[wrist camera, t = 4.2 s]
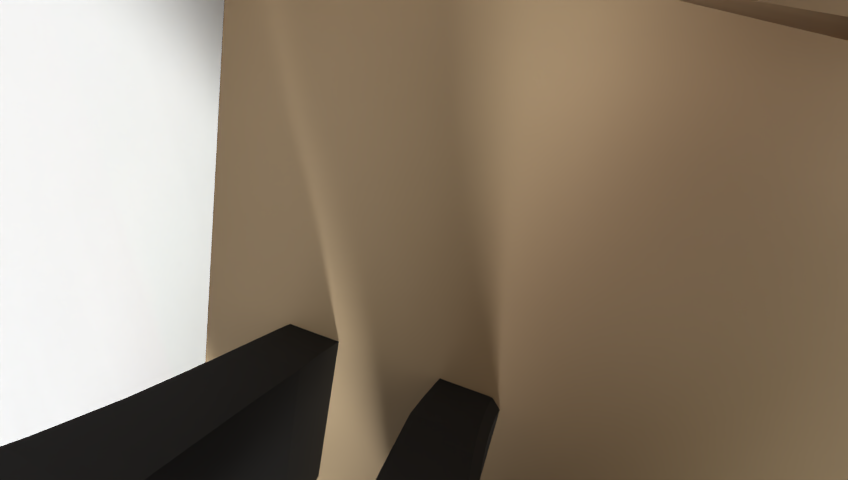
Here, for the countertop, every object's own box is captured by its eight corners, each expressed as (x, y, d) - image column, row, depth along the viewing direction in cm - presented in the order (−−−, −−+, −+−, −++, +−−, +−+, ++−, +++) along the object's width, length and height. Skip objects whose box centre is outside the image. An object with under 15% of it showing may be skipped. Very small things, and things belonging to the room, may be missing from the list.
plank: (1274, 104, 7) (1449, 183, 5) (790, 773, 12) (802, 919, 10) (321, -114, 9) (229, -106, 7) (253, 549, 14) (190, 643, 12)
